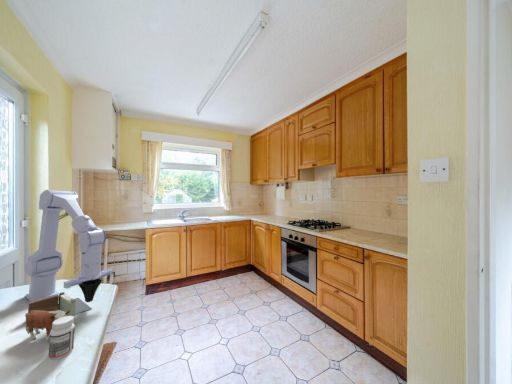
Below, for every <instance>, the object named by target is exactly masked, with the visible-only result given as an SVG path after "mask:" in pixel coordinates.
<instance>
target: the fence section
mask: <svg viewBox="0 0 512 384" xmlns="http://www.w3.org/2000/svg"><path fill="white" fill-rule="evenodd" d="M58 293H59V294H58V295H55V296H51V297H47V298H44V299H40V300H36V301H33V302H30V301H29V302H28V306H27V307H28V308H27V313H28V314H29V312H30V311H32V310H39V311H57V310H60V295H64V294H66V293H65V291H63V292H58Z"/></svg>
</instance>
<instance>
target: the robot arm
mask: <svg viewBox="0 0 512 384" xmlns="http://www.w3.org/2000/svg"><path fill="white" fill-rule="evenodd" d="M38 201H39V202H38V210H41V211H42V214H41V223H40V232H39V240H38V241H39V243H38V249H37V250H36V251H34V252H33V253H31V254H30V255H28V256H27V259H26V263H25V264H24V269H23V270H24V273H25V275H27V276H28V277H30V279H29V286H28V287H29V291H28V293H26V294H25V295H24V296H25V297H26V299H27V300H28V301H29V302H33V301H37V300H40V299H44V298H48V297H51V296H55V295H59V293H60V292H58V291H57V290H56V281H57V272H59V270H60V269H61V268H62V267H63V264H64V259H63V252H62V251H60V250H58V249H57V240H58V230H59V222H60V214H61V212H63V211H65V212H66V213H67V215H68V216H69V217H70V218H71V219H72V221H71V224H70V225H71V226H72V227H73V229H74V231H75V232H76V233H77V235H78V239H77V243H78V245H79V251H80V253H81V255H80V256H81V257H80V271H79V272H80V274H79V276H77V277H74V278H72V279H68V280H65V281H64V282H63V289H67V290H68V289H70V288H71V287H76V286H79V288H80V289H81V292H82V293H83V297H84V301H85V303H90V302H93V300H94V297H95V294H96V292H97V290H98V289H99V286H100V285H101V283H102V279H101V278H103V277H107V276H112V275H113V273H114V271H113V270H114V269H111V268H109V269H104V270H101V266H102V265H101V264H102V248H103V244H104V243H105V242H106V240H107V232H105V229H103V228H100V227H98V226H97V225H96V224H95V223H94V221H93V219H92V218H91V217H90V216H89V215H87V214H84V212H83V211H82V209H81V207H80V205H79V195H78V193H77V192H76V191H74V190H54V189H53V190H52V189H45V190H44V191H42V193H40V194H39V200H38Z"/></svg>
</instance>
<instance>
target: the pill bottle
mask: <svg viewBox="0 0 512 384" xmlns="http://www.w3.org/2000/svg"><path fill="white" fill-rule="evenodd" d="M74 317H75V316H65V317H61V318H59V319H57V320H55V321H54V322H53V323H52V329H51V331H50V335H49V336H50V339H49V341H48V359H50V360H57V359H60V358H64V357H65V356H67V355H69V354H70V353H71V352H72V351H73V350H74V346H75V328H76V327H75V326H76V325H75V323H74Z"/></svg>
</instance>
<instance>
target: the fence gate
mask: <svg viewBox="0 0 512 384" xmlns="http://www.w3.org/2000/svg"><path fill="white" fill-rule="evenodd" d="M74 299H75V298H73V297H71V296H70V295H67V294H66V293H64V295H60V310H61V311H64V312H66V311H68V310H71V311H70V312H69V313H68V314H66V315H67V316H73V317H75V316H76V315H75V303H76V300H74Z"/></svg>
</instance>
